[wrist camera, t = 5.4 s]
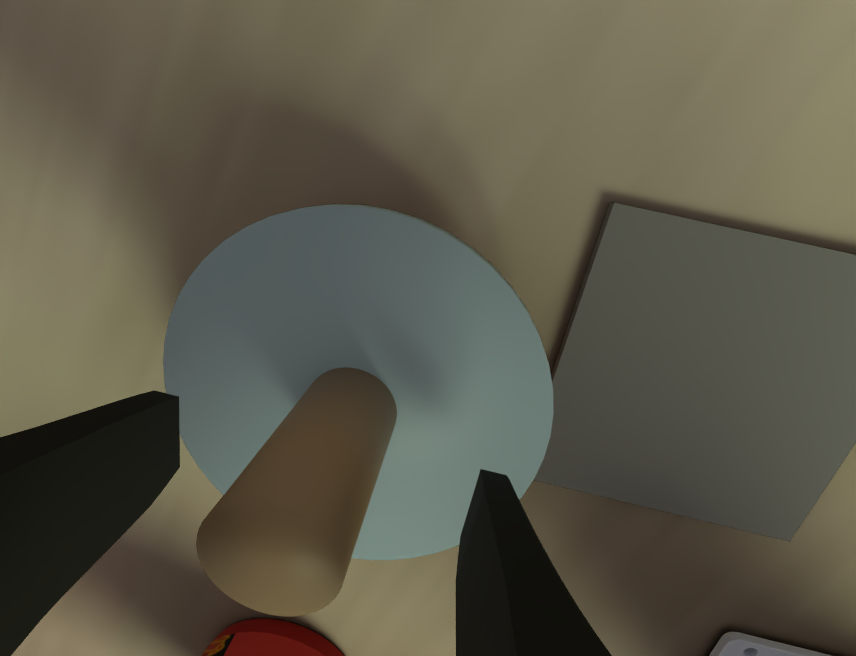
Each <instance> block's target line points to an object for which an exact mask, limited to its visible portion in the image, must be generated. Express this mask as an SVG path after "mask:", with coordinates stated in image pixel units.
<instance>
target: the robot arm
mask: <svg viewBox="0 0 856 656" xmlns="http://www.w3.org/2000/svg"><path fill="white" fill-rule="evenodd" d="M179 467H180V439H179V396H175V395H171V394H166V393H162V392H158V391H151V392H147V393H143V394H139V395H136V396H132V397H129V398H126V399H122V400H119V401H116V402H113V403H110V404H107V405H103V406H100V407H97V408H94V409H91V410H88V411H85V412H82V413H79V414H76V415H72V416H69V417H66V418H63V419H60V420H57V421H54V422H51V423H47V424H44V425H41V426H38V427H35V428H31V429H28V430H24V431H21V432H18V433H14V434H11V435H7V436H4V437H0V656H11V655H12V654H13V653H14V651H15V650H16V649H17V648H18V647H19V645H20V644H21V643H22V642H23V641H24V639H25V638H26V637H27V636H28V635H29V633H30V632H31V631H32V630H33V629H34V627H35V626H36V625H37V624H38V623H39V621H40V620H41V619H42V618H43V617H44V616H45V615H46V614H47V613H48V611H49V610H50V609H51V608H52V607H53V606H54V605H55V604H56V603H57V602H58V601H59V599H60V598H61V597H62V596H63V595H64V594H65V593H66V592H67V591H68V590H69V589H70V588H71V587H72V586H73V585H74V584H75V583H76V582H77V581H78V580H79V579H80V578H81V577H82V576H83V575H84V574H85V573H86V572H87V571H88V570H89V569H90V568H91V567H92V566H93V565H94V564H95V562H96V561H97V560H98V559H99V558H100V557H101V556H102V555H103V554H104V553H105V552H106V551H107V550H108V549H109V548H110V547H111V546H112V545H113V544H114V543H115V542H116V541H117V540H118V539H119V538H120V537H121V536H122V535H123V534H124V533H125V532H126V531H127V530H128V529H129V528H130V527H131V526H132V524H133V523H134V522H135V521H136V520H137V519H138V518H139V517H140V516H141V515H142V514H143V513H144V512H145V511H146V510H147V509H148V508H149V507H150V506H151V504H152V503H153V502H154V500H155V499H156V498H157V497H158V495H159V494H160V493H161V492H162V490H163V489H164V488H165V486H166V485H167V484H168V482H169V481H170V480H171V478H172V477H173V476H174V474H175V473H176V471H177V470H178V469H179ZM456 656H611V654H610V653H609V651H608V650H607V649H606V647H605V646H604V644H603V643H602V641H601V640H600V639H599V637H598V636H597V634H596V633H595V632H594V630H593V629H592V627H591V626H590V624H589V623H588V621H587V620H586V618H585V617H584V615H583V614H582V612H581V611H580V609H579V607H578V606H577V604H576V603H575V601H574V599H573V598H572V596H571V595H570V593H569V591H568V590H567V588H566V586H565V585H564V583H563V581H562V580H561V578H560V576H559V575H558V573H557V571H556V569H555V568H554V566H553V564H552V563H551V561H550V559H549V557H548V555H547V553H546V551H545V550H544V548H543V546H542V544H541V542H540V540H539V539H538V537H537V535H536V533H535V531H534V529H533V527H532V525H531V523H530V521H529V519H528V517H527V515H526V513H525V511H524V509H523V507H522V505H521V503H520V501H519V499H518V496H517V494H516V492H515V490H514V488H513V486H512V483H511V481H510V479H509V478H508V476H507V475H504V474H500V473H496V472H491V471H487V470H483V469H480V473H479V476H478V479H477V483H476V486H475V489H474V493H473V496H472V499H471V503H470V506H469V509H468V513H467V516H466V519H465V522H464V526H463V529H462V532H461V536H460V545H459V554H458V564H457V575H456ZM709 656H832V655H828V654H824V653H820V652H816V651H812V650H808V649H804V648H800V647H796V646H792V645H788V644H784V643H779V642H775V641H771V640H767V639H763V638H759V637H755V636H751V635H747V634H743V633H739V632H728V633H726V634H724V635H723V636H722V637H721V638H720V640H719V641H718V643H717V644H716V646H715V647H714V649H713V650H712V652H711V653H710V655H709Z"/></svg>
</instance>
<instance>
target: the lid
mask: <svg viewBox="0 0 856 656" xmlns="http://www.w3.org/2000/svg"><path fill="white" fill-rule="evenodd" d="M163 366H164V380H165V388H166V393H167V394H171V395H175V396H179V433H180V435H181V437H182V440H183V442H184V444H185V446H186V448H187V449H188V451H189V452H190V454H191V456H192V457H193V459H194V460H195V462H196V463H197V465H198V467H199V468H200V469H201V470H202V472H203V473H204V474H205V475H206V477H207V478H208V479H209V480H210V482H211V483H212V484H213V485H214V486H215V487H216V488H217V489H218V490H219V491H220V492H221V493H222V494H223V497H222V498H221V499H220V500H219V502H218V503H217V504H216V505H215V507H214V508H213V509H212V510H211V512H210V513H209V514H208V516H207V517H206V518H205V519H204V521H203V522H202V524H201V526H200V528H199V531H198V534H197V541H196V544H197V553H198V557H199V560H200V563H201V565H202V567H203V569H204V571H205V572H206V574H207V575H208V577H209V578H210V579H211V581H212V582H213V583H214V584H215V585H216V586H217V587H218V588H219V589H220V590H221V591H222V592H223V593H225V594H226V595H227V596H229V597H230V598H232V599H233V600H235V601H236V602H238V603H240V604H242V605H244V606H246V607H248V608H250V609H253V610H255V611H258V612H262V613H265V614H270V615H276V616H301V615H306V614H310V613H313V612H316V611H318V610H320V609H322V608H324V607H325V606H327V605H328V604H329V603H330V602H332V601H333V600H334V599H335V597H336V596H337V595H338V593H339V591H340V589H341V587H342V584H343V581H344V578H345V575H346V572H347V569H348V566H349V563H350V560H351V558H356V559H365V560H397V559H408V558H415V557H420V556H425V555H429V554H434V553H437V552H440V551H443V550H446V549H449V548H452V547H455V546H457V545H459V544H460V536H461V532H462V529H463V526H464V522H465V519H466V516H467V513H468V509H469V506H470V503H471V499H472V496H473V493H474V489H475V486H476V483H477V479H478V476H479V473H480V469H483V470H487V471H491V472H496V473H500V474H504V475H507V476H508V478H509V479H510V481H511V483H512V486H513V488H514V490H515V492H516V494H517V496H518V499H519V500H520V499H521V497H522V496H523V495H524V493H525V492H526V490H527V489H528V487H529V486H530V484H531V483H532V481H533V480H534V478H535V476H536V474H537V472H538V470H539V468H540V465H541V463H542V461H543V459H544V456H545V453H546V449H547V446H548V443H549V439H550V435H551V428H552V421H553V414H554V412H553V385H552V379H551V374H550V368H549V363H548V360H547V357H546V354H545V351H544V348H543V344H542V341H541V338H540V336H539V333H538V331H537V329H536V327H535V325H534V323H533V321H532V319H531V317H530V315H529V312H528V310H527V308H526V307H525V305H524V304H523V302H522V301H521V299H520V298H519V296H518V295H517V294H516V292H515V291H514V289H513V288H512V286H511V285H510V284H509V283H508V281H507V280H506V279H505V278H504V277H503V276H502V275H501V274H500V273H499V272H498V270H497V269H496V268H495V267H494V266H493V265H492V264H491V263H490V262H489V261H487V260H486V259H485V258H484V257H483V256H481V255H480V254H479V253H478V252H477V251H475V250H474V249H473V248H472V247H471V246H469V245H468V244H466V243H465V242H463V241H462V240H460V239H458V238H457V237H455V236H454V235H452V234H451V233H449V232H447V231H446V230H444V229H442V228H439V227H437V226H435V225H433V224H431V223H429V222H426V221H424V220H422V219H420V218H417V217H414V216H411V215H407V214H404V213H401V212H398V211H395V210H391V209H385V208H379V207H374V206H368V205H355V204H330V205H321V206H312V207H305V208H299V209H295V210H291V211H288V212H284V213H280V214H276V215H272V216H270V217H267V218H265V219H263V220H260V221H258V222H256V223H253V224H251V225H249V226H246V227H245V228H243V229H242V230H240V231H238V232H237V233H235V234H234V235H232V236H230V237H229V238H227V239H226V240H224V241H223V242H222V243H221V244H220V245H218V246H217V247H216V248H215V249H214V250H213V251H212V252H210V253H209V254H208V255H207V256H206V257H205V258H204V259H203V260H202V262H201V263H200V264H199V265H198V267H197V268H196V269H195V270H194V271H193V273H192V274H191V275H190V276H189V278H188V280H187V282H186V283H185V285H184V287H183V288H182V290H181V292H180V294H179V295H178V297H177V300H176V303H175V305H174V308H173V310H172V313H171V315H170V318H169V323H168V327H167V332H166V337H165V344H164V358H163Z"/></svg>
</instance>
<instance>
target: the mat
mask: <svg viewBox="0 0 856 656" xmlns="http://www.w3.org/2000/svg"><path fill="white" fill-rule="evenodd" d="M551 379H552V385H553V412H554V414H553V421H552V428H551V435H550V439H549V443H548V446H547V449H546V453H545V456H544V459H543V461H542V463H541V465H540V468H539V470H538V472H537V474H536V476H535V478H534V480H535V481H539V482H543V483H547V484H551V485H555V486H560V487H564V488H568V489H572V490H576V491H580V492H585V493H589V494H593V495H597V496H601V497H606V498H610V499H614V500H618V501H622V502H626V503H631V504H635V505H639V506H643V507H647V508H651V509H656V510H660V511H664V512H668V513H672V514H676V515H681V516H685V517H689V518H693V519H697V520H701V521H706V522H710V523H714V524H718V525H722V526H726V527H731V528H735V529H739V530H743V531H747V532H751V533H756V534H760V535H764V536H768V537H772V538H776V539H781V540H785V541H789V542H790V540H791V539H792V537H793V536H794V534H795V533H796V531H797V530H798V528H799V527H800V525H801V524H802V522H803V521H804V520H805V518H806V517H807V515H808V514H809V512H810V511H811V509H812V508H813V506H814V505H815V503H816V502H817V500H818V499H819V497H820V496H821V494H822V493H823V491H824V490H825V488H826V487H827V485H828V484H829V482H830V481H831V479H832V478H833V476H834V475H835V473H836V472H837V470H838V469H839V467H840V466H841V464H842V463H843V461H844V460H845V458H846V457H847V455H848V454H849V452H850V451H851V449H852V448H853V446H854V445H855V443H856V255H854V254H849V253H845V252H840V251H835V250H831V249H826V248H822V247H817V246H812V245H808V244H803V243H798V242H794V241H789V240H785V239H780V238H775V237H771V236H766V235H762V234H757V233H752V232H748V231H743V230H738V229H734V228H729V227H725V226H720V225H715V224H711V223H706V222H701V221H697V220H692V219H688V218H683V217H678V216H674V215H669V214H665V213H660V212H655V211H651V210H646V209H641V208H637V207H632V206H628V205H623V204H618V203H614V202H610V204H609V207H608V210H607V213H606V216H605V218H604V221H603V224H602V227H601V230H600V233H599V236H598V239H597V242H596V245H595V248H594V251H593V254H592V257H591V259H590V262H589V265H588V268H587V271H586V274H585V277H584V280H583V283H582V286H581V289H580V292H579V295H578V298H577V300H576V303H575V306H574V309H573V312H572V315H571V318H570V321H569V324H568V327H567V330H566V333H565V336H564V339H563V342H562V344H561V347H560V350H559V353H558V356H557V359H556V362H555V365H554V368H553V371H552V374H551Z"/></svg>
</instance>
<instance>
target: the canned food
mask: <svg viewBox="0 0 856 656" xmlns="http://www.w3.org/2000/svg"><path fill="white" fill-rule="evenodd" d="M201 656H343V654H342V653H341V652H340V651H339V650H338V649H337V648H336V647H335V646H334V645H333V644H332V643H331V642H329V641H328V640H327V639H325V638H324V637H322V636H321V635H319V634H318V633H316V632H314V631H312V630H310V629H308V628H306V627H303V626H300V625H298V624H295V623H292V622H287V621H283V620H278V619H267V618H262V619H249V620H245V621H241V622H237V623H235V624H233V625H231V626H229V627H227V628H226V629H225V630H223V631H222V632H221V633H220V634H219V635H218V636H217V637H216V638H215V639H214V640H213V641H212V642H211V643H210V644H209V645H208V646H207V648H206V649H205V651H204V652H203V654H202V655H201Z"/></svg>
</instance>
